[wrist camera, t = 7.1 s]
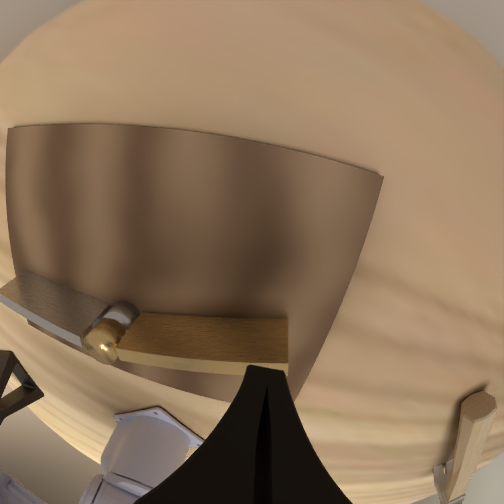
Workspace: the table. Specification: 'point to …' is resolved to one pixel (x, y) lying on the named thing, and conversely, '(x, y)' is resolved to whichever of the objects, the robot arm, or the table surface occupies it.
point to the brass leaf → (193, 343)
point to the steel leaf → (62, 307)
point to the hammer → (466, 447)
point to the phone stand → (27, 393)
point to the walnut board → (189, 230)
